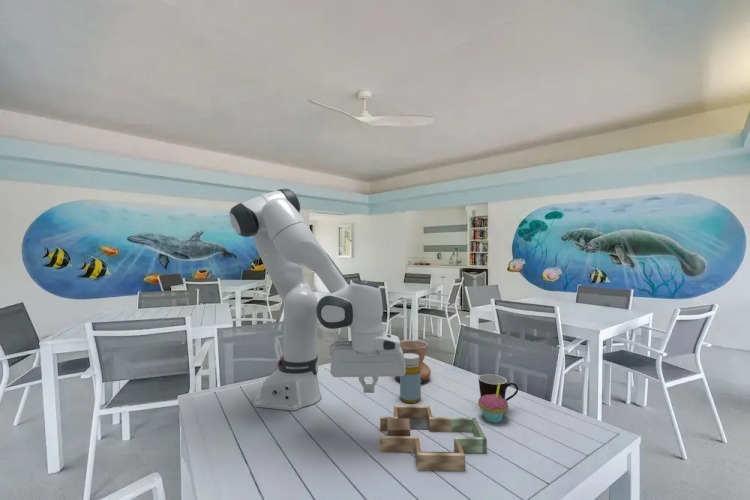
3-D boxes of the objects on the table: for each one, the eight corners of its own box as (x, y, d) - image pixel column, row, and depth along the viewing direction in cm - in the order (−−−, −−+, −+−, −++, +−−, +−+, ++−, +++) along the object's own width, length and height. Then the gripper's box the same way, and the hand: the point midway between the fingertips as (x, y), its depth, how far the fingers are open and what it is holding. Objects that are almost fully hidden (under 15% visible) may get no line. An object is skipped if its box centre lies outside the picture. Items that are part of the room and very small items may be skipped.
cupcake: (507, 414, 105) (507, 376, 105) (508, 428, 97) (508, 386, 97) (478, 410, 108) (478, 373, 108) (477, 423, 100) (477, 382, 100)
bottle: (420, 395, 120) (420, 352, 120) (421, 404, 113) (420, 359, 113) (400, 394, 120) (400, 352, 120) (399, 403, 114) (399, 358, 114)
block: (387, 447, 89) (387, 429, 89) (387, 434, 95) (387, 418, 95) (410, 447, 89) (410, 430, 89) (408, 434, 95) (408, 418, 95)
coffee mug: (476, 413, 107) (475, 381, 107) (481, 402, 114) (481, 372, 114) (516, 421, 101) (515, 388, 101) (518, 409, 109) (518, 378, 109)
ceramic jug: (396, 370, 145) (395, 337, 144) (430, 371, 143) (430, 338, 142) (391, 388, 127) (391, 350, 127) (431, 390, 125) (430, 351, 124)
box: (378, 469, 79) (378, 454, 79) (380, 417, 104) (380, 405, 104) (495, 471, 79) (495, 456, 79) (469, 417, 104) (469, 406, 104)
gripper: (327, 344, 89) (328, 397, 89) (405, 343, 88) (406, 396, 88) (331, 338, 95) (332, 387, 95) (404, 337, 94) (405, 386, 94)
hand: (368, 391), depth 92 cm, fingers closed
